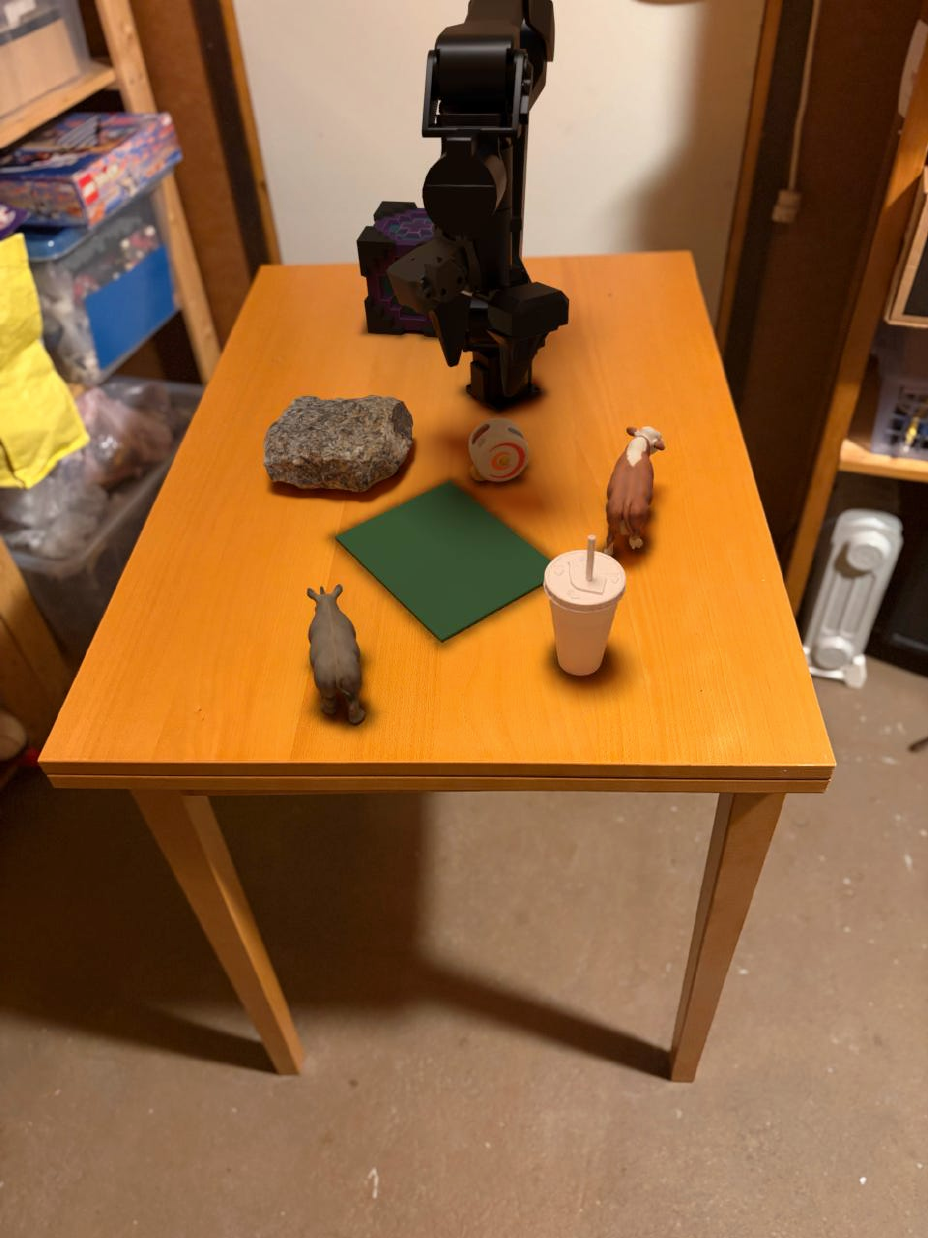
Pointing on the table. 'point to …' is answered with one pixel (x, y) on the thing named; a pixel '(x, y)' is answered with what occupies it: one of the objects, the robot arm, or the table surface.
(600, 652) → the smoothie
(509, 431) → the roller toy
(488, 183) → the robot arm
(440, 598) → the cloth
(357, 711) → the rhino figurine
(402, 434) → the rock
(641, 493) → the bull figurine
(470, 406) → the table surface
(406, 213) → the energy cube
